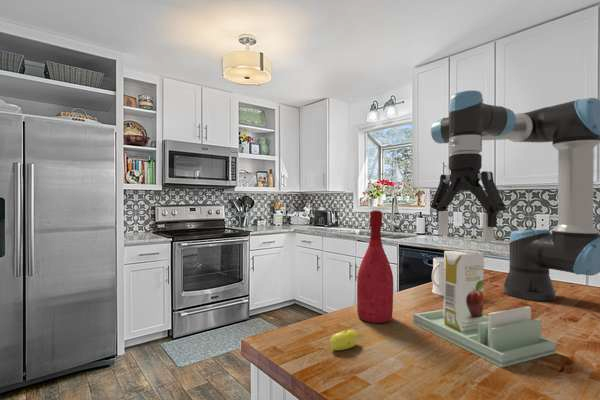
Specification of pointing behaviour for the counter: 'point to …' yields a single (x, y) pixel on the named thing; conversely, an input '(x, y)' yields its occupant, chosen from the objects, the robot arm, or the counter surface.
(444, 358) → the counter surface
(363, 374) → the counter surface
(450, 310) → the juice carton
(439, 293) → the mug
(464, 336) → the dish rack
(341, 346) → the lemon
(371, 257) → the wine bottle
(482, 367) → the counter surface
